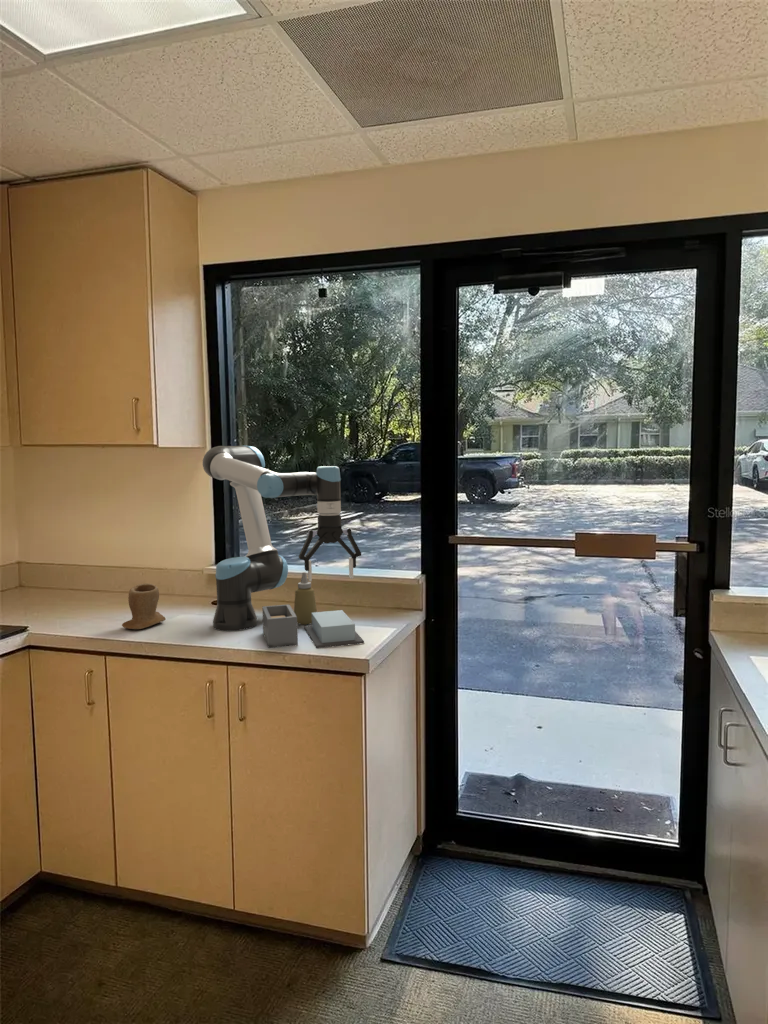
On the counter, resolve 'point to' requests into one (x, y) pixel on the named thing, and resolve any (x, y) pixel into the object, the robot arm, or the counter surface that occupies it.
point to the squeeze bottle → (304, 601)
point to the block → (333, 626)
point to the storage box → (280, 626)
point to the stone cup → (143, 607)
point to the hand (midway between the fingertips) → (330, 579)
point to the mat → (330, 644)
